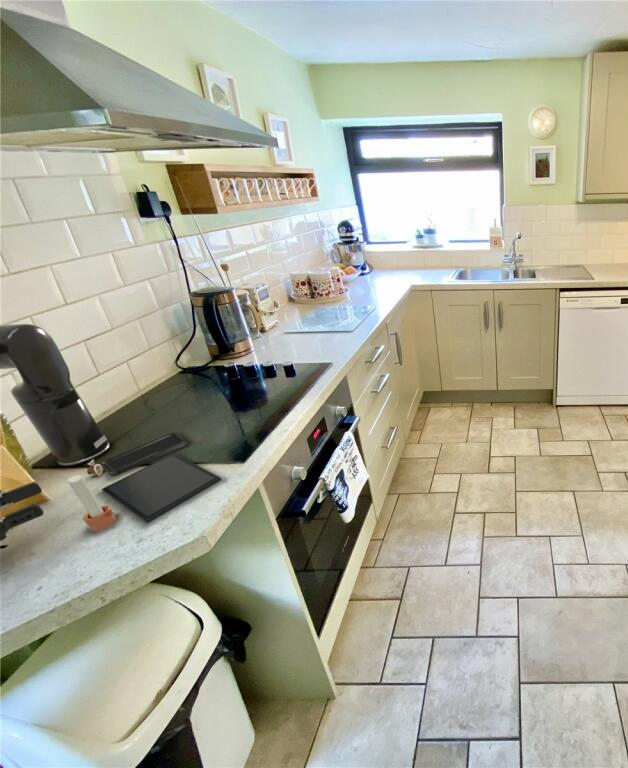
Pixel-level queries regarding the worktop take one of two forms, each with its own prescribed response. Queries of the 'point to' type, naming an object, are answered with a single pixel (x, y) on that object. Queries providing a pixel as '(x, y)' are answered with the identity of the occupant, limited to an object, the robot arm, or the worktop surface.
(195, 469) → the tablet
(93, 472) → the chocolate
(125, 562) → the worktop surface
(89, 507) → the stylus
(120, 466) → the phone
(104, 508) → the orange hollow cylinder
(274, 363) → the worktop surface
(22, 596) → the worktop surface
